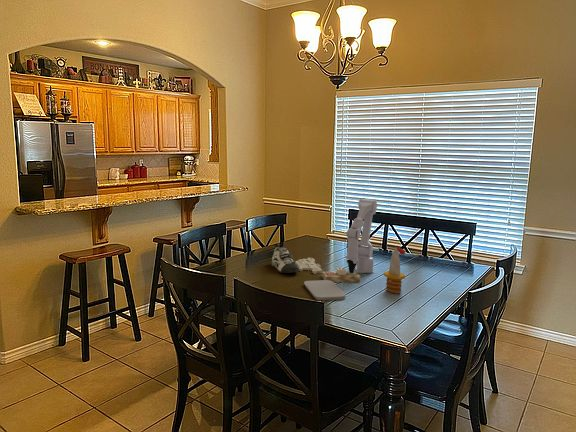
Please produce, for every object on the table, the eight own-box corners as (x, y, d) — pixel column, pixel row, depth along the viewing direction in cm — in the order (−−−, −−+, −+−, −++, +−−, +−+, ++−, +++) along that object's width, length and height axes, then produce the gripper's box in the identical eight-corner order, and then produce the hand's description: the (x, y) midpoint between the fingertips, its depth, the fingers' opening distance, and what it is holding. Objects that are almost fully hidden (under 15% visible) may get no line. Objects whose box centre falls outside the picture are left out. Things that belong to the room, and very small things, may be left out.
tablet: (330, 283, 242) (331, 279, 242) (347, 300, 217) (347, 296, 217) (302, 285, 239) (302, 281, 238) (316, 302, 214) (316, 297, 213)
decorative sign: (290, 258, 286) (312, 257, 289) (290, 261, 286) (312, 260, 290) (301, 271, 257) (326, 270, 260) (301, 275, 257) (326, 274, 260)
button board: (355, 276, 256) (355, 271, 256) (360, 281, 246) (360, 276, 246) (321, 276, 254) (322, 271, 253) (325, 281, 244) (325, 276, 244)
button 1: (353, 276, 253) (354, 271, 253) (355, 279, 249) (356, 273, 248) (346, 276, 253) (346, 271, 252) (348, 279, 248) (348, 273, 248)
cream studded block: (343, 272, 252) (344, 267, 251) (345, 275, 248) (346, 269, 247) (336, 272, 251) (336, 267, 251) (338, 275, 247) (338, 269, 247)
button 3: (333, 277, 252) (333, 271, 251) (335, 279, 247) (335, 273, 247) (326, 277, 251) (326, 271, 251) (327, 279, 247) (327, 273, 246)
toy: (411, 264, 215) (391, 245, 224) (390, 299, 227) (372, 279, 237) (422, 262, 220) (403, 243, 229) (401, 296, 233) (383, 277, 242)
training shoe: (285, 277, 251) (286, 255, 248) (265, 264, 276) (266, 244, 274) (302, 275, 255) (303, 253, 253) (281, 262, 281) (281, 243, 279)
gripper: (342, 246, 255) (341, 269, 257) (349, 252, 240) (347, 276, 243) (354, 246, 255) (353, 268, 258) (361, 252, 241) (360, 276, 243)
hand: (351, 272), depth 250 cm, fingers closed, pressing on button 1
